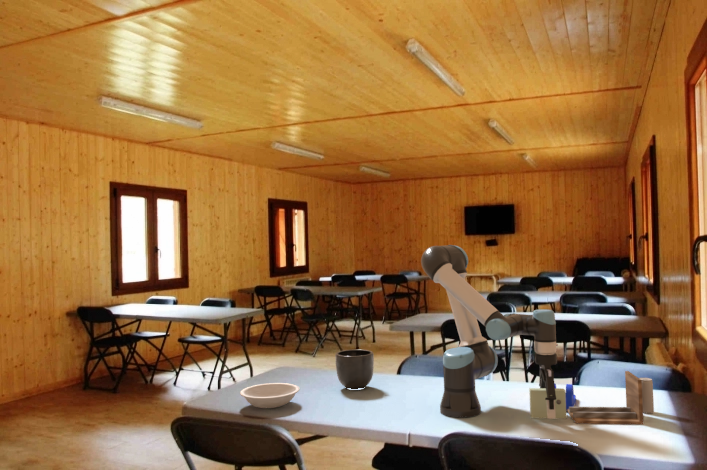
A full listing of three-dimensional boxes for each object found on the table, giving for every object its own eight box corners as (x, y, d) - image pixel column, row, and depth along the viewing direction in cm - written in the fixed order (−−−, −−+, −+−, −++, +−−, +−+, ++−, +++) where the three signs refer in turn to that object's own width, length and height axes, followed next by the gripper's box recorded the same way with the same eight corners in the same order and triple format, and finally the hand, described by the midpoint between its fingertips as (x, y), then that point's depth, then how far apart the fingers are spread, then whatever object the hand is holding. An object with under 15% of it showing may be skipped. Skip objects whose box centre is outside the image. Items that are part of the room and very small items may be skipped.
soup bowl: (228, 408, 232) (228, 391, 232) (274, 395, 250) (274, 380, 250) (265, 418, 216) (265, 401, 216) (312, 404, 234) (311, 388, 234)
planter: (375, 392, 249) (373, 355, 249) (335, 394, 249) (334, 357, 249) (374, 383, 266) (373, 348, 266) (337, 384, 266) (336, 349, 266)
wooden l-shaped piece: (575, 423, 199) (574, 379, 199) (567, 411, 212) (565, 371, 213) (643, 424, 195) (641, 380, 195) (630, 412, 209) (628, 371, 209)
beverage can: (648, 414, 206) (646, 381, 206) (636, 411, 210) (634, 378, 210) (656, 412, 208) (655, 379, 208) (644, 409, 212) (643, 376, 212)
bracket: (572, 411, 213) (571, 386, 214) (549, 409, 217) (548, 385, 217) (576, 398, 230) (575, 376, 230) (555, 397, 233) (554, 374, 233)
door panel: (531, 418, 206) (530, 390, 206) (530, 415, 209) (529, 388, 209) (566, 419, 204) (565, 391, 204) (564, 416, 207) (563, 388, 207)
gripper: (563, 359, 195) (566, 423, 194) (550, 346, 219) (552, 403, 218) (540, 359, 196) (543, 423, 195) (529, 346, 220) (532, 403, 219)
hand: (548, 412), depth 207 cm, fingers open, 12 cm apart
